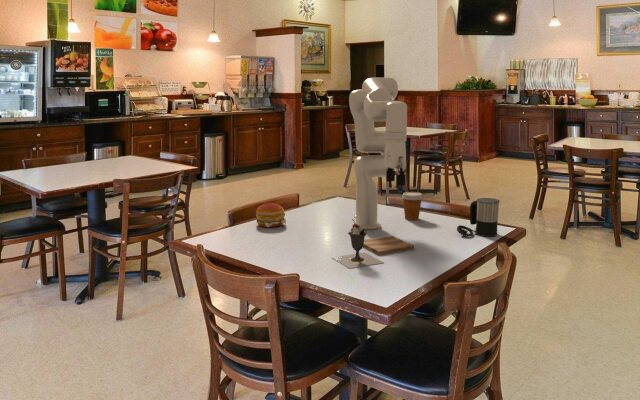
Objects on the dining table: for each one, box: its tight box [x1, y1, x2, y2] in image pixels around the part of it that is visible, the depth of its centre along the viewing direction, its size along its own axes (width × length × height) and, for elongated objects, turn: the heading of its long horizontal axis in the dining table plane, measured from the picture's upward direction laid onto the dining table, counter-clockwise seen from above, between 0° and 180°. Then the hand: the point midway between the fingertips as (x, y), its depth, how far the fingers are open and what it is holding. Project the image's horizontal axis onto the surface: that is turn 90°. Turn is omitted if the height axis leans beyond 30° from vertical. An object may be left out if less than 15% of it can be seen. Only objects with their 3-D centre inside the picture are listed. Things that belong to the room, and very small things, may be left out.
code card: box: [336, 251, 385, 269], centre depth 208 cm, size 14×14×1 cm
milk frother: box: [456, 197, 501, 238], centre depth 239 cm, size 14×16×15 cm
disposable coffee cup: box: [401, 191, 423, 221], centre depth 268 cm, size 10×10×12 cm
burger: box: [255, 202, 287, 228], centre depth 259 cm, size 13×14×10 cm
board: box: [363, 235, 415, 256], centre depth 225 cm, size 16×16×2 cm
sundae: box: [348, 218, 367, 262], centre depth 207 cm, size 7×7×15 cm
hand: (395, 183), depth 211 cm, fingers open, 9 cm apart
